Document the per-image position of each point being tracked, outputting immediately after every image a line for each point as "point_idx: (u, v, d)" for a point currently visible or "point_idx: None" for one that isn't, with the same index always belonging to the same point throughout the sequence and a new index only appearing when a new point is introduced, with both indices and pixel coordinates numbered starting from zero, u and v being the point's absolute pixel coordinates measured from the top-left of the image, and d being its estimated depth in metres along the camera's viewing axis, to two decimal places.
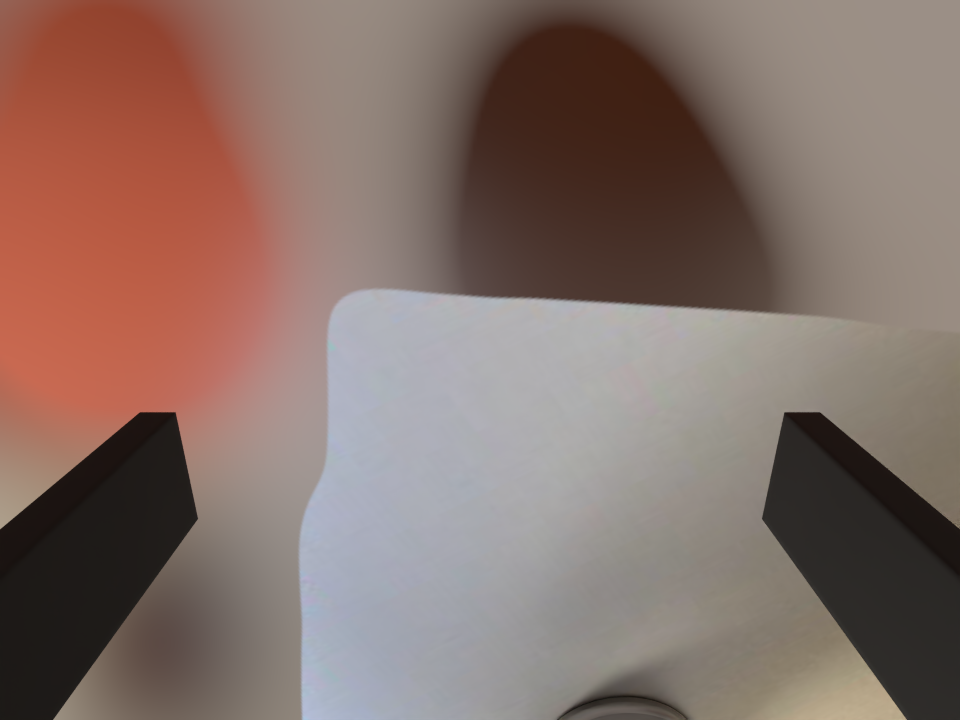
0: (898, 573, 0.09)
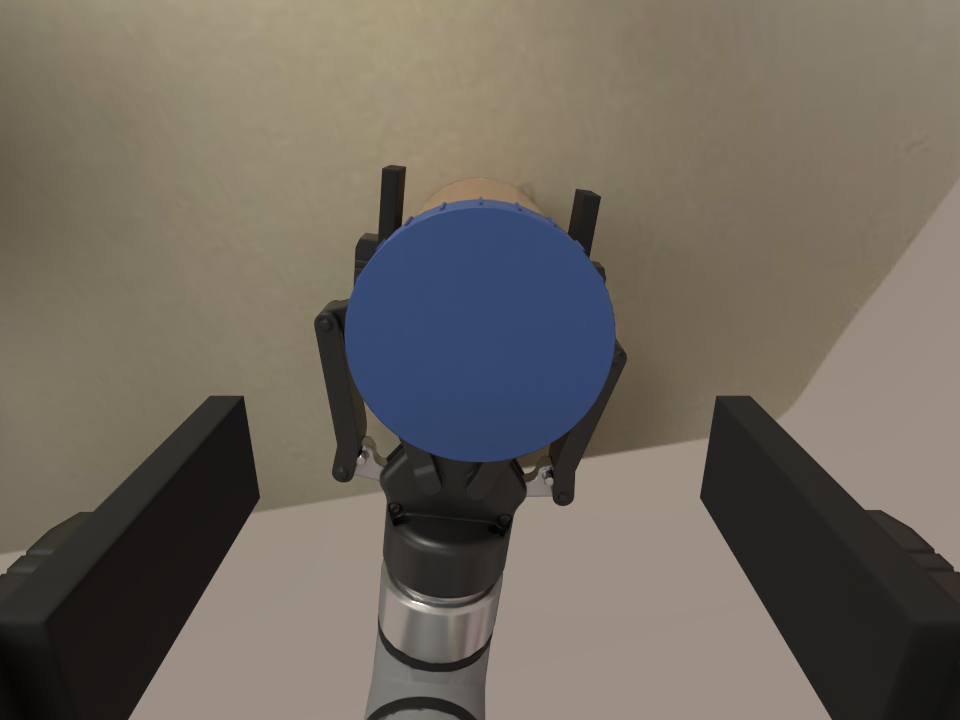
0: (798, 538, 0.10)
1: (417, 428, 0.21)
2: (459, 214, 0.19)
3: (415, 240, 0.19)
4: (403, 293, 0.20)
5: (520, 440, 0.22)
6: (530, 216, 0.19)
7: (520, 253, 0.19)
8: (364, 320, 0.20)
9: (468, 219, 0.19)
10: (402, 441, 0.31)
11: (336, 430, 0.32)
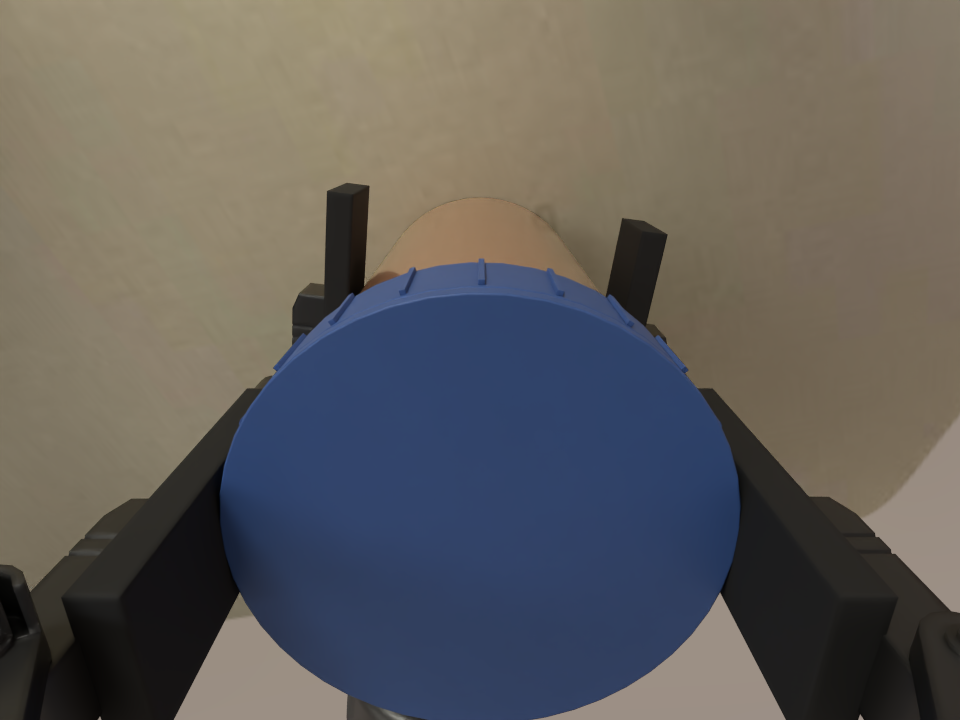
0: (746, 523, 0.10)
1: (365, 674, 0.12)
2: (437, 307, 0.09)
3: (348, 357, 0.09)
4: (329, 454, 0.10)
5: (552, 692, 0.12)
6: (584, 310, 0.09)
7: (561, 381, 0.09)
8: (255, 501, 0.10)
9: (456, 317, 0.09)
10: None
11: None
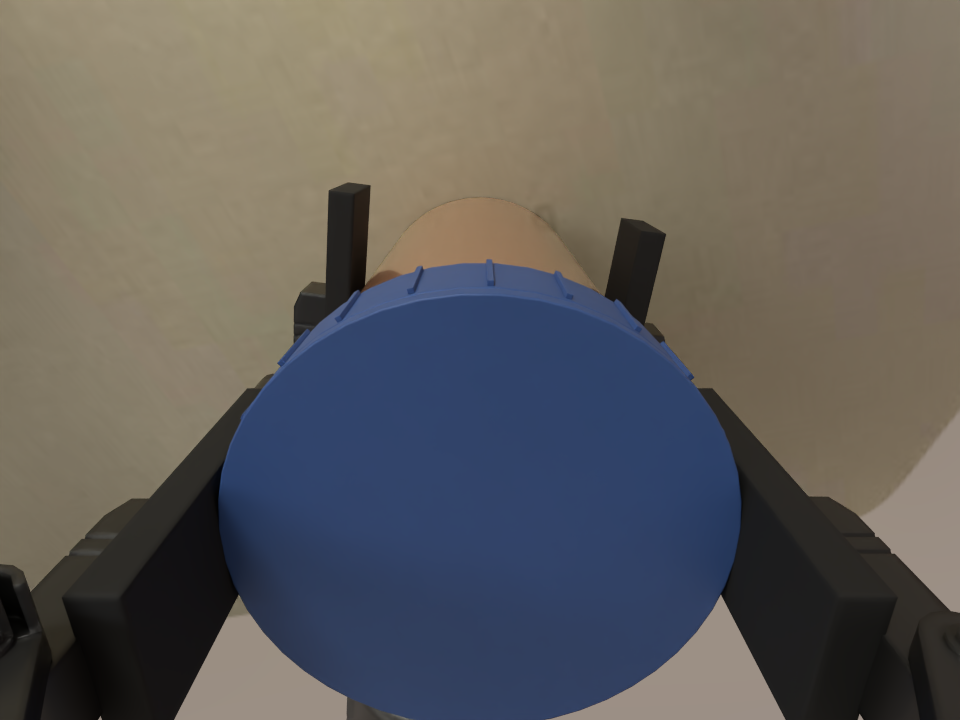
0: (746, 523, 0.10)
1: (610, 667, 0.12)
2: (228, 526, 0.10)
3: (266, 596, 0.11)
4: (355, 632, 0.11)
5: (704, 519, 0.10)
6: (246, 414, 0.10)
7: (313, 446, 0.10)
8: (390, 690, 0.12)
9: (238, 515, 0.10)
10: None
11: None
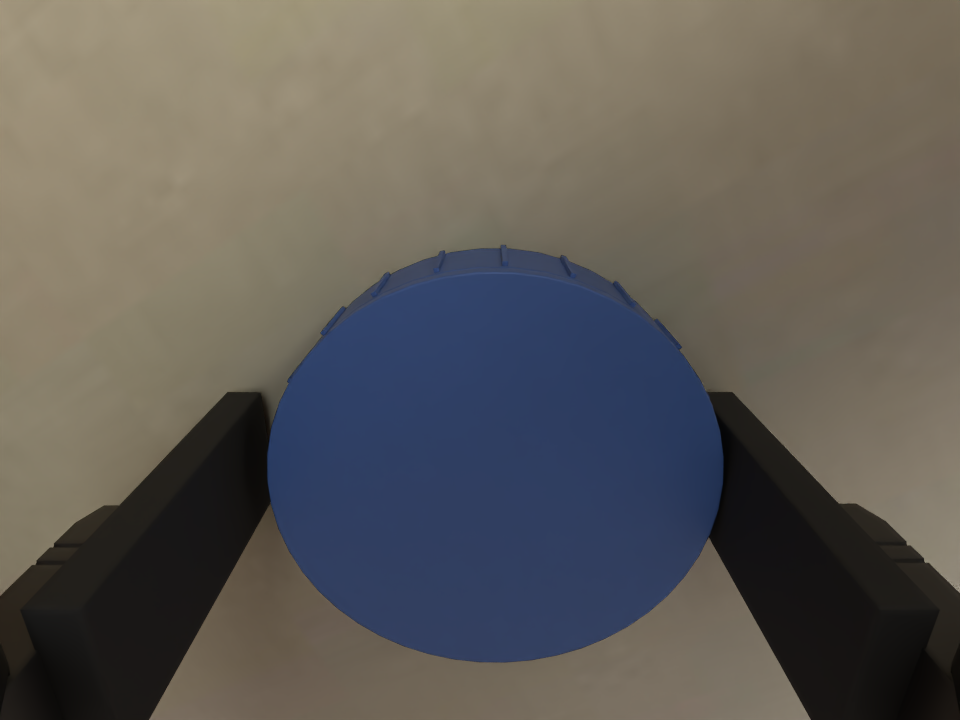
0: (773, 531, 0.10)
1: (608, 608, 0.13)
2: (276, 476, 0.12)
3: (306, 540, 0.13)
4: (383, 573, 0.13)
5: (691, 472, 0.12)
6: (293, 376, 0.11)
7: (350, 405, 0.11)
8: (413, 627, 0.13)
9: (284, 466, 0.12)
10: None
11: None
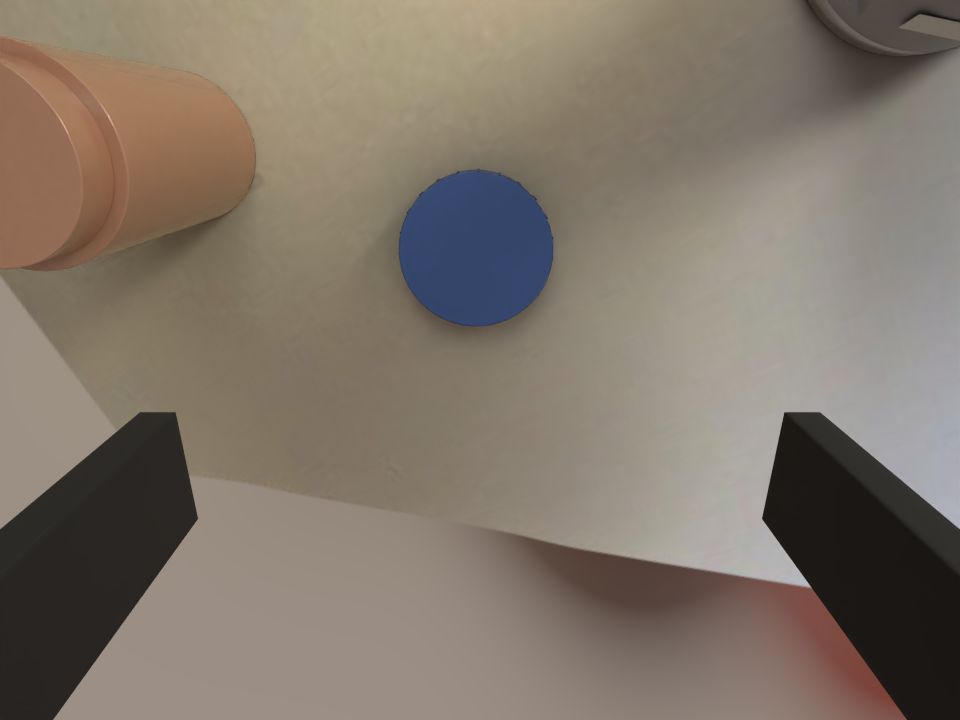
0: (898, 573, 0.09)
1: (517, 300, 0.37)
2: (402, 246, 0.35)
3: (410, 272, 0.36)
4: (437, 286, 0.36)
5: (541, 243, 0.35)
6: (410, 209, 0.35)
7: (428, 219, 0.35)
8: (447, 310, 0.37)
9: (405, 242, 0.35)
10: None
11: None
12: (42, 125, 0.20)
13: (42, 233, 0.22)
